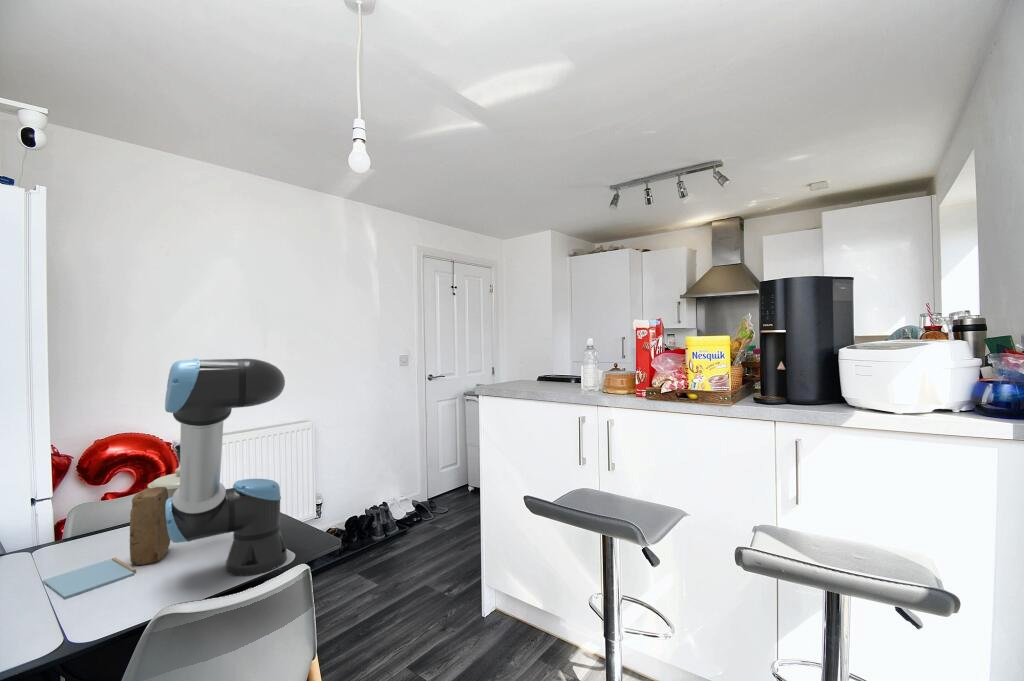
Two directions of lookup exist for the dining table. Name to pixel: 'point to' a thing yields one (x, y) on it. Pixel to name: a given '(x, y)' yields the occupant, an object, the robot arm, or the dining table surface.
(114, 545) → the dining table surface
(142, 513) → the pitted brown rock
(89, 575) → the book
